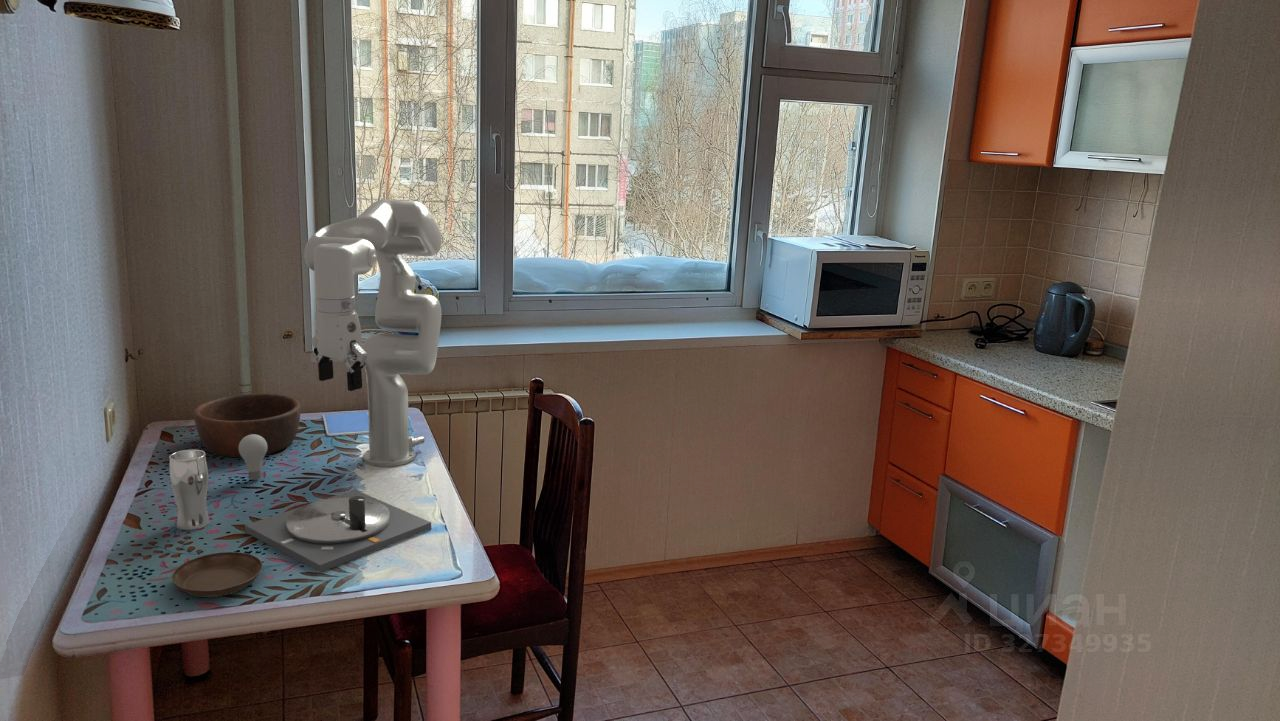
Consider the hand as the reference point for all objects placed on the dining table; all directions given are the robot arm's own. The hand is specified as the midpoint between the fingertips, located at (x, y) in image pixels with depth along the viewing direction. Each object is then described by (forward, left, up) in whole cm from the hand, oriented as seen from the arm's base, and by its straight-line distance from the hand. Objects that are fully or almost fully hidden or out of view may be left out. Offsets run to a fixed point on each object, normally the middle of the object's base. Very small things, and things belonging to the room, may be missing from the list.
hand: (340, 384), depth 192 cm
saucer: (+35, +12, -28) cm, 47 cm away
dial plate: (+8, +9, -28) cm, 30 cm away
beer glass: (+26, -15, -28) cm, 41 cm away
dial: (+8, +9, -26) cm, 29 cm away
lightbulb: (+5, -28, -28) cm, 40 cm away
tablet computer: (-34, -47, -28) cm, 65 cm away
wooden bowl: (-7, -51, -28) cm, 58 cm away
